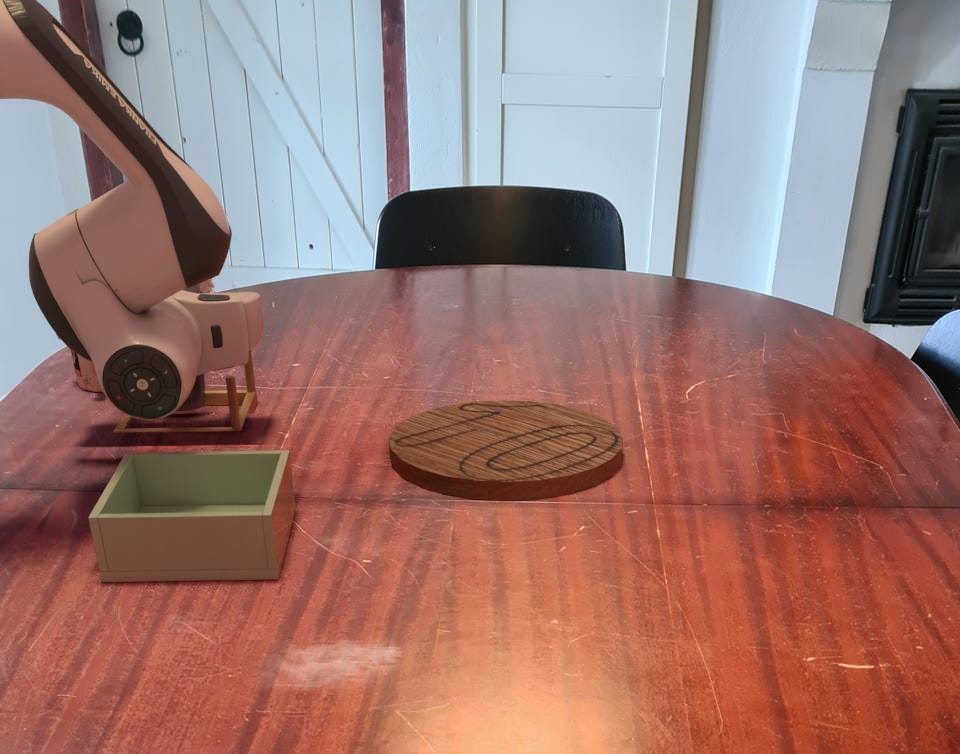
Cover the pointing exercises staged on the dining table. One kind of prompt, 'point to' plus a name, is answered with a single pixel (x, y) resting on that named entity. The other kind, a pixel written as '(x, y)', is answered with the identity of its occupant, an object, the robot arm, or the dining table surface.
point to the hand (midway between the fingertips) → (170, 300)
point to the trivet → (505, 450)
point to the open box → (195, 516)
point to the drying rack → (215, 398)
